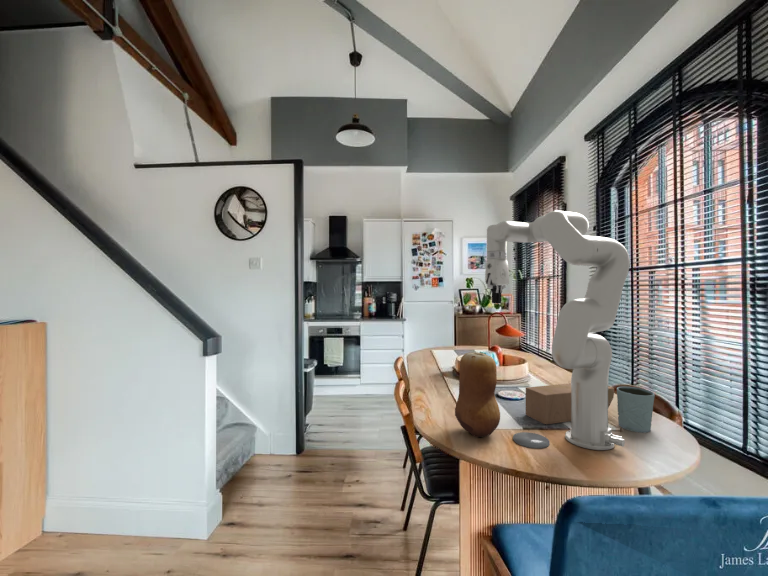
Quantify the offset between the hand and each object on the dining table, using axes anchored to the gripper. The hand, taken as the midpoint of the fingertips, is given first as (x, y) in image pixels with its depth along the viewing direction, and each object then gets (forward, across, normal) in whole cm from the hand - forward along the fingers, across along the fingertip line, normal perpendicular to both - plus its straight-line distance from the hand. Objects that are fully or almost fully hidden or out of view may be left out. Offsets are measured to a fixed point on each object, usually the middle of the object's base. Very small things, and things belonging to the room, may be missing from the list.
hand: (496, 303), depth 142 cm
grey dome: (+39, -23, -27) cm, 53 cm away
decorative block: (+34, -6, -19) cm, 39 cm away
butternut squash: (+39, -31, -14) cm, 52 cm away
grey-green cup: (+39, +13, -43) cm, 60 cm away
